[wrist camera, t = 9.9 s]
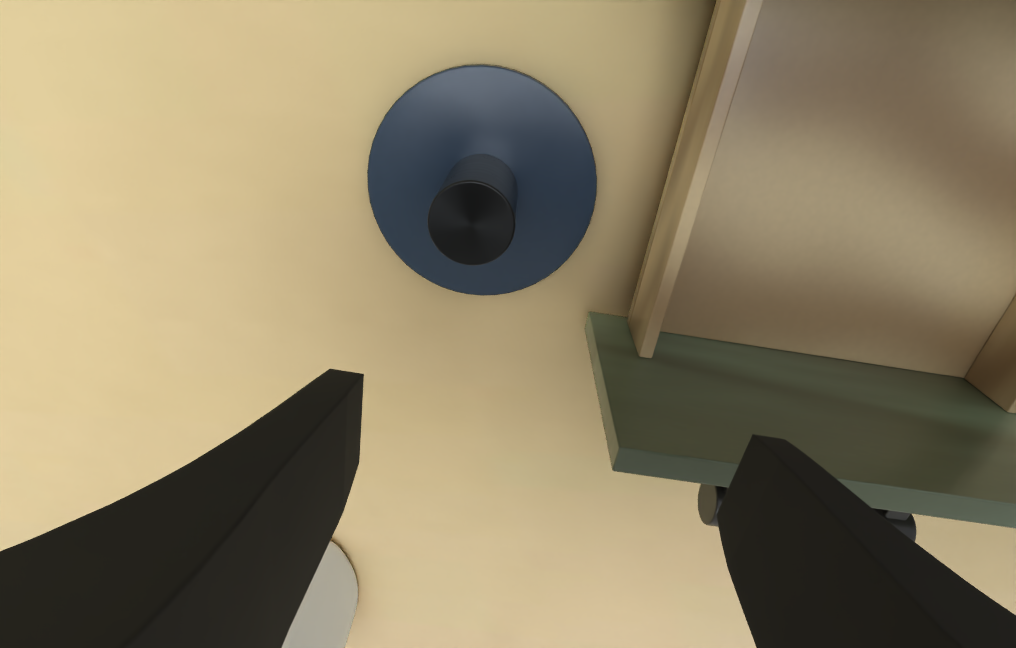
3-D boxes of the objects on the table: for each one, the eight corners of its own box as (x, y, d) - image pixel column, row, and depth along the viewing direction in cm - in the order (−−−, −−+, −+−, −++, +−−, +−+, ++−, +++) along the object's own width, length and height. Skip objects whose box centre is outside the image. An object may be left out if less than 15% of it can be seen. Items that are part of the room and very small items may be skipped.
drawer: (928, 470, 21) (1095, 651, 15) (562, 417, 21) (577, 582, 14) (1325, -147, 13) (2079, -323, 7) (729, -265, 12) (936, -580, 6)
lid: (570, 304, 19) (579, 364, 16) (366, 273, 19) (329, 327, 15) (619, 86, 16) (645, 99, 13) (376, 44, 16) (332, 46, 12)
